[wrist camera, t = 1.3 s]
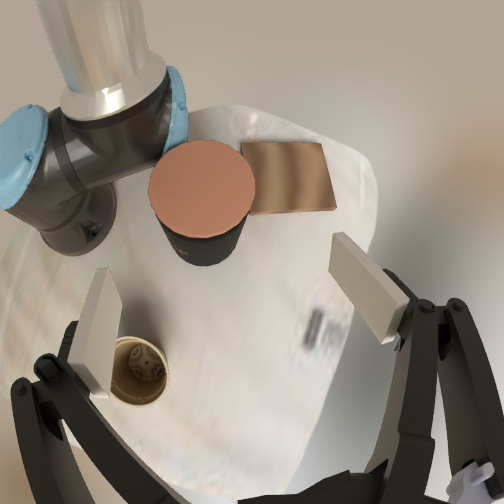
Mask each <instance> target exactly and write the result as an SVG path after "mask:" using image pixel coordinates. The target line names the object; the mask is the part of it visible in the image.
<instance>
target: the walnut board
mask: <svg viewBox="0 0 504 504" xmlns="http://www.w3.org/2000/svg"><path fill="white" fill-rule="evenodd" d="M241 154H242V156H243V157H244V159H245V160H246V161H247V162H248V164H249V165H250V167H251V170H252V173H253V176H254V178H255V196H254V199H253V202H252V204H251V207H250V210H249V215H259V214H274V213H291V212H310V211H331V210H335V209H336V208H337V205H336V201H335V196H334V192H333V188H332V184H331V180H330V175H329V171H328V168H327V164H326V160H325V156H324V152H323V149H322V145H321V144H320V143H242V144H241Z"/></svg>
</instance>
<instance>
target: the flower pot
mask: <svg viewBox="0 0 504 504" xmlns="http://www.w3.org/2000/svg"><path fill="white" fill-rule="evenodd" d="M153 349H154V350H155V351H154V350H153ZM136 350H138V351H137V354H135V355H133V354H134V352H135V351H136ZM146 362H148V364H146ZM160 369H162V372H161V374H160V375H159V376H158V375H157V373H158V372H159V371H160ZM137 370H138V371H139V372H140V373H141V374H143V376H139V375H138V373H136V371H137ZM168 385H169V369H168V365H167V360H166V357H165V355H164V353H163V352H162V350H161V349H160V348H159V347H157V346H156V345H154V344H151V343H150V342H148V341H146V340H144V339H142V338H139V337H135V336H123V337H119V338H117V341H116V348H115V355H114V362H113V370H112V379H111V388H110V394H111V395H112V396H113V397H114V398H115V399H116V400H118V401H119V402H121V403H123V404H125V405H128V406H131V407H137V408H140V407H148V406H151V405H153V404H155V403H156V402H158V401H159V400H160V399H161V398H162V397H163V395H164V394H165V392H166V390H167V388H168Z"/></svg>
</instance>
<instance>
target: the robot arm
mask: <svg viewBox="0 0 504 504" xmlns="http://www.w3.org/2000/svg"><path fill="white" fill-rule="evenodd" d="M35 3H36V6H37V9H38V12H39V15H40V18H41V21H42V24H43V27H44V30H45V33H46V36H47V38H48V41H49V44H50V46H51V49H52V51H53V54H54V56H55V59H56V61H57V64H58V66H59V69H60V71H61V73H62V76H63V78H64V80H65V83H66V86H65V88H64V90H63V92H62V94H61V97H60V107H58V108H56V109H54V110H52V111H50V112H48V113H47V111H46V110H45V109H44V108H43V107H40V106H39V105H32V104H29V105H26V106H23V107H21V108H19V109H18V110H16V111H15V112H14V113H12V114H11V115H10V116H9V117H8V118H7V119H6V120H5V121H4V122H3V123H2V124H1V125H0V208H1V209H4V210H5V211H7V212H9V213H10V214H12V215H14V216H16V217H17V218H19V219H21V220H23V221H24V222H26V223H28V224H30V225H32V226H33V227H35V228H37V230H38V231H39V232H40V234H41V236H42V238H43V240H44V241H45V243H46V244H47V245H48V246H49V247H50V248H51V249H53V250H54V251H56V252H58V253H61V254H63V255H66V256H79V255H83V254H86V253H88V252H90V251H91V250H93V249H94V248H96V247H97V246H98V245H99V244H100V243H101V242H102V241H103V240H104V239H105V237H106V236H107V235H108V233H109V231H110V229H111V227H112V225H113V222H114V219H115V215H116V197H115V193H114V191H113V189H112V187H111V185H110V184H109V183H110V182H112V181H115V180H118V179H120V178H123V177H125V176H128V175H131V174H134V173H136V172H139V171H142V170H145V169H148V168H151V167H155V166H156V164H157V162H158V161H159V160H160V159H161V158H162V157H163V156H164V155H165V154H166V153H167V152H168V151H170V150H172V149H173V148H175V147H177V146H179V145H181V144H183V143H187V139H188V111H187V108H186V95H185V90H184V86H183V82H182V79H181V76H180V74H179V72H178V70H177V69H176V68H175V67H173V66H166V64H165V61H164V59H163V58H162V57H161V56H160V55H158V54H157V53H155V52H152V51H150V50H148V46H147V40H146V33H145V26H144V20H143V12H142V4H141V0H35ZM328 271H329V273H330V274H331V275H332V277H333V278H334V279H335V281H336V282H337V283H338V285H339V286H340V287H341V289H342V290H343V291H344V293H345V294H346V295H347V297H348V298H349V299H350V301H351V302H352V304H353V305H354V306H355V308H356V309H357V310H358V312H359V313H360V314H361V316H362V317H363V319H364V320H365V321H366V323H367V324H368V326H369V327H370V328H371V330H372V331H373V333H374V334H375V336H376V337H377V338H378V340H379V341H380V343H381V344H384V343H387V342H389V341H392V340H394V337H395V335H396V332H398V334H399V335H400V336H401V337H400V339H399V341H398V343H397V346H396V348H395V350H394V351H396V350H397V348H398V350H397V356H396V362H395V368H394V373H393V378H392V383H391V388H390V393H389V398H388V402H387V406H386V410H385V415H384V418H383V422H382V426H381V430H380V433H379V437H378V440H377V443H376V446H375V450H374V453H373V455H372V457H371V459H370V461H369V462H368V464H367V467H366V468H365V471H364V473H350V471H349V470H346V471H344V472H341V473H339V474H336V475H334V476H331V477H328V478H325V479H323V480H321V481H320V482H318V483H316V484H314V485H313V486H311V487H309V488H307V489H306V490H304V491H302V492H300V493H298V494H289V495H288V494H287V495H263V496H259V497H254V498H248V499H242V500H237V501H238V504H491V503H493V502H495V501H497V500H499V499H502V498H504V415H503V411H502V407H501V402H500V398H499V394H498V390H497V387H496V383H495V380H494V376H493V373H492V370H491V366H490V364H489V361H488V357H487V354H486V352H485V349H484V346H483V343H482V341H481V338H480V335H479V333H478V330H477V328H476V325H475V323H474V321H473V318H472V316H471V313H470V311H469V309H468V306H467V305H466V304H465V303H464V302H463V301H462V300H460V299H458V298H451V299H449V300H448V302H447V305H446V306H435V305H434V304H433V303H432V302H430V301H428V300H426V299H420V300H419V299H418V298H417V297H416V296H415V295H414V293H412V291H411V290H410V289H409V288H408V287H407V286H406V285H405V284H404V283H403V282H402V281H401V280H399V278H398V277H397V276H396V275H395V274H394V273H393V272H391V271H389V270H387V269H381V268H380V267H379V266H378V265H377V264H376V263H375V262H374V261H373V260H372V259H371V258H370V257H369V256H368V255H367V254H366V253H365V252H364V251H363V250H362V249H361V248H360V247H359V246H358V245H357V244H356V243H355V242H354V241H353V240H352V239H351V238H350V237H348V236H347V235H346V234H345V233H344V232H340V233H333V237H332V246H331V254H330V262H329V270H328ZM122 306H123V304H122V301H121V299H120V296H119V293H118V291H117V288H116V285H115V283H114V280H113V277H112V274H111V272H110V269H109V267H107V268H100V269H97V271H96V273H95V276H94V278H93V281H92V284H91V286H90V289H89V292H88V295H87V298H86V300H85V303H84V306H83V309H82V312H81V315H80V318H79V321H72V322H71V323H70V324H69V326H68V327H67V328H66V331H65V334H64V338H63V340H62V345H61V346H60V350H59V353H58V356H57V357H56V356H55V355H54V354H51V353H48V354H44V355H42V356H40V357H39V358H38V359H37V361H36V362H35V364H34V373H35V374H36V376H37V377H38V378H39V379H40V381H37V382H34V383H31V382H30V381H29V380H28V379H27V378H24V377H22V378H19V379H17V380H16V381H15V382H14V383H13V384H12V387H11V402H12V410H13V417H14V422H15V429H16V434H17V438H18V444H19V448H20V452H21V456H22V460H23V464H24V468H25V471H26V474H27V478H28V481H29V484H30V487H31V490H32V493H33V496H34V499H35V501H36V504H95V502H94V500H93V498H92V496H91V494H90V492H89V490H88V488H87V486H86V484H85V481H84V479H83V477H82V475H81V472H80V470H79V468H78V465H77V463H76V460H75V458H74V455H73V453H72V450H71V448H70V445H69V442H68V439H67V436H66V433H65V430H64V427H63V424H62V421H61V419H64V421H65V423H66V424H67V426H68V427H69V429H70V431H71V432H72V434H73V435H74V437H75V438H76V440H77V441H78V443H79V444H80V445H81V447H82V448H83V450H84V451H85V452H86V454H87V455H88V457H89V458H90V459H91V461H92V462H93V463H94V465H95V466H96V467H97V468H98V470H99V471H100V472H101V473H102V475H103V476H104V477H105V478H106V480H107V481H108V482H109V483H110V484H111V485H112V486H113V488H114V489H115V490H116V491H117V492H118V493H119V494H120V496H121V497H122V498H123V499H124V500H125V501H126V502H127V503H128V504H191V503H190V502H188V501H187V500H185V499H184V498H183V497H182V496H181V495H180V494H178V493H177V492H176V491H175V490H174V489H172V488H171V487H170V486H169V485H168V484H167V483H166V482H164V481H163V480H162V479H161V478H160V477H159V476H158V475H157V474H156V473H155V472H154V471H153V470H152V469H151V468H149V467H148V466H147V465H146V464H145V463H144V462H143V461H142V460H141V459H140V458H139V457H138V455H137V454H136V453H135V452H134V451H133V450H132V449H131V448H130V447H129V446H128V445H127V444H126V443H125V442H124V440H123V439H122V438H121V437H120V436H119V435H118V434H117V432H116V431H115V430H114V429H113V428H112V427H111V425H110V424H109V423H108V422H107V421H106V419H105V418H104V417H103V416H102V414H101V413H100V412H99V410H98V409H97V408H96V407H95V405H94V404H93V403H92V401H91V400H90V399H89V395H90V392H91V393H92V394H93V395H94V397H95V398H110V388H111V379H112V370H113V362H114V355H115V348H116V341H117V335H118V329H119V323H120V317H121V312H122ZM437 372H438V376H439V382H440V387H441V392H442V399H443V405H444V413H445V420H446V430H447V440H448V453H449V464H450V469H451V474H452V479H451V482H450V485H448V487H447V490H446V492H447V494H448V495H449V500H448V502H445V501H441V500H438V499H435V498H432V497H429V496H426V495H424V493H425V489H426V486H427V481H428V478H429V473H430V469H431V465H432V460H433V454H434V449H435V440H434V439H433V438H431V428H432V422H433V414H434V406H435V396H436V384H437Z"/></svg>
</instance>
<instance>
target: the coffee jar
mask: <svg viewBox="0 0 504 504" xmlns="http://www.w3.org/2000/svg"><path fill="white" fill-rule="evenodd" d="M148 193H149V198H150V202H151V207H152V208H153V210H154V211H155V214H156V217H157V219H158V221H159V223H160V224H161V226H162V228H163V230H164V232H165V234H166V236H167V238H168V240H169V241H170V243H171V245H172V247H173V248H174V250H175V251H176V253H177V254H178V256H180V257H181V258H182V259H183V260H185V261H186V262H188V263H191V264H193V265H196V266H211V265H214V264H218V263H220V262H221V261H223V260H224V259H226V258H227V257H228V256H229V255H230V254H231V253H232V251H233V250H234V249H235V247H236V244H237V241H238V239H239V236H240V234H241V231H242V228H243V226H244V223H245V221H246V218H247V215H248V212H249V210H250V207H251V204H252V202H253V199H254V196H255V178H254V176H253V173H252V170H251V167H250V165H249V164H248V162H247V161H246V160H245V159H244V157H243V156H242V155H241V154H240V153H239V152H237V151H236V150H234V149H233V148H231V147H230V146H228V145H226V144H223V143H219V142H216V141H211V140H196V141H191V142H187V143H183V144H181V145H179V146H177V147H175V148H173V149H172V150H170V151H168V152H167V153H166V154H165V155H164V156H163V157H162V158H161V159H160V160H159V161H158V162H157V164H156V166H155V168H154V170H153V172H152V174H151V176H150V182H149V189H148Z"/></svg>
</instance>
